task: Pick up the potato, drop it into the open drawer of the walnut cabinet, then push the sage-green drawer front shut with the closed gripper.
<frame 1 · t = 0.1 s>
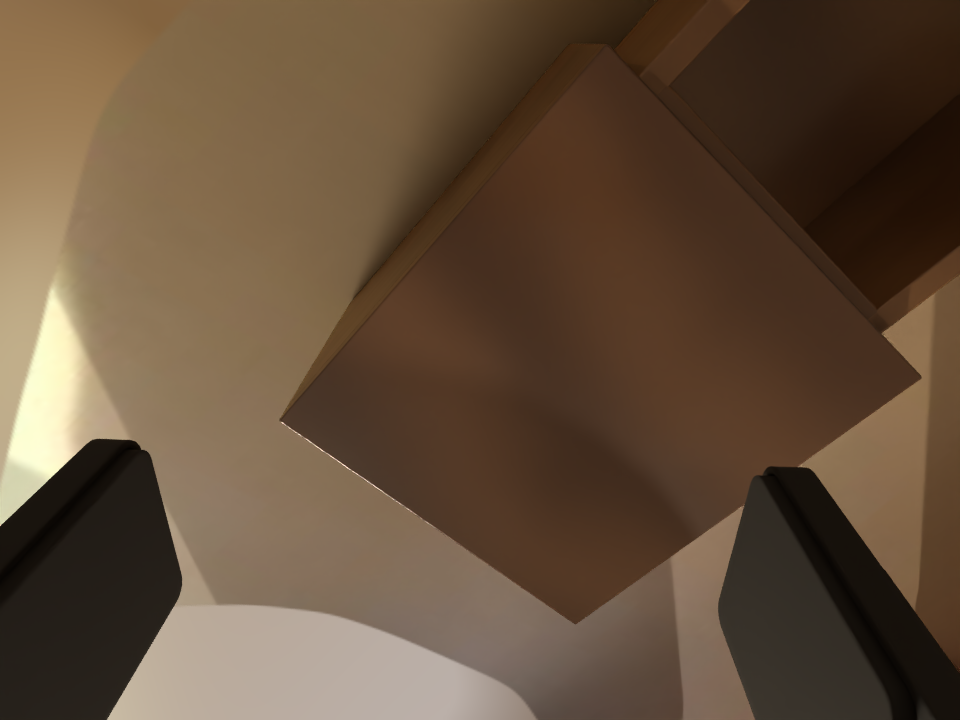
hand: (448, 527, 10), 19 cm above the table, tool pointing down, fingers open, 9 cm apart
cabinet: (562, 288, 29), on the table
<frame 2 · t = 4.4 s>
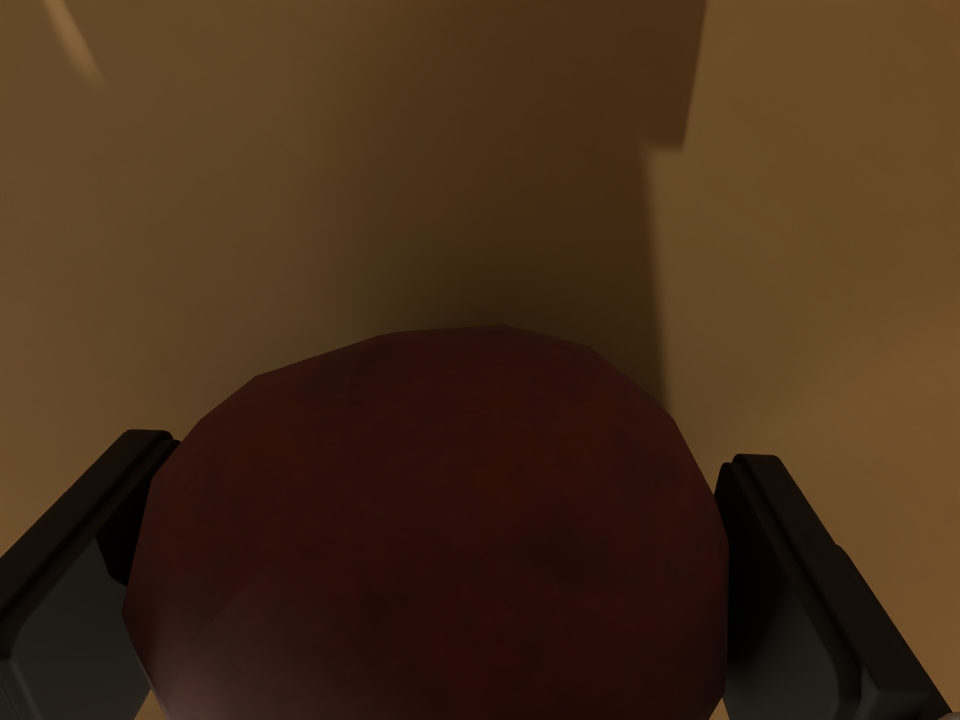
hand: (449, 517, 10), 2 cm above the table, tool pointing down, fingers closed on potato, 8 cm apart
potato: (466, 441, 12), on the table, touching gripper
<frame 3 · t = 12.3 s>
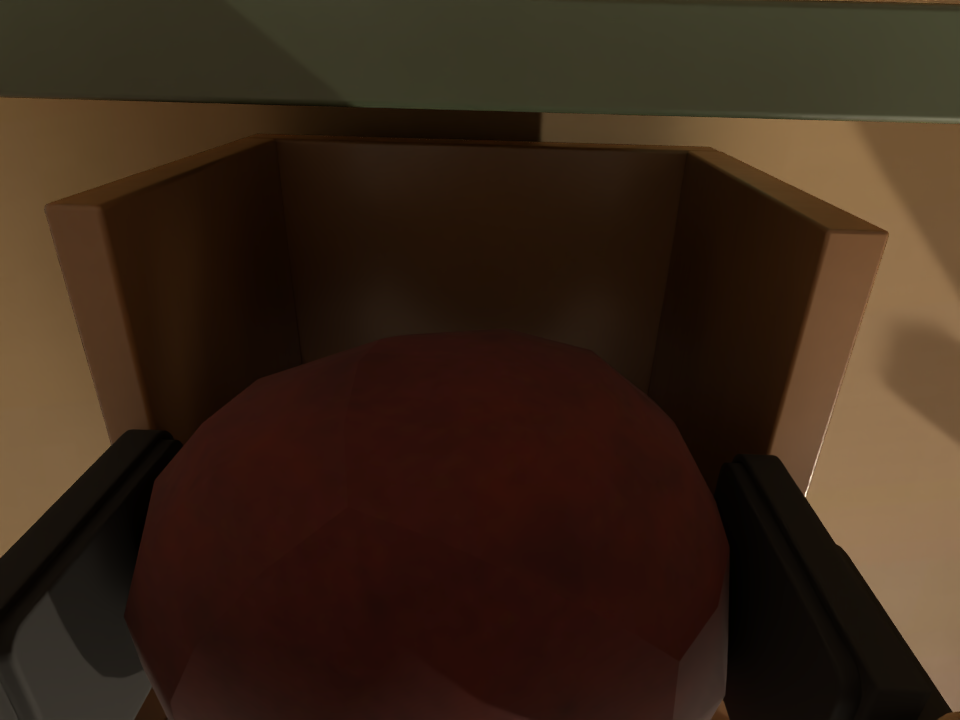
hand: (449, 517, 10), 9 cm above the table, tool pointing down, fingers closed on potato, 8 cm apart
drawer: (471, 274, 13), point 5 cm above the table, slide at 12.0 cm
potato: (467, 443, 12), point 7 cm above the table, touching gripper
cabinet: (471, 627, 24), on the table
when the fingers open (11 cm above the table, at t = 30.8 s): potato drops 7 cm, resting on drawer.
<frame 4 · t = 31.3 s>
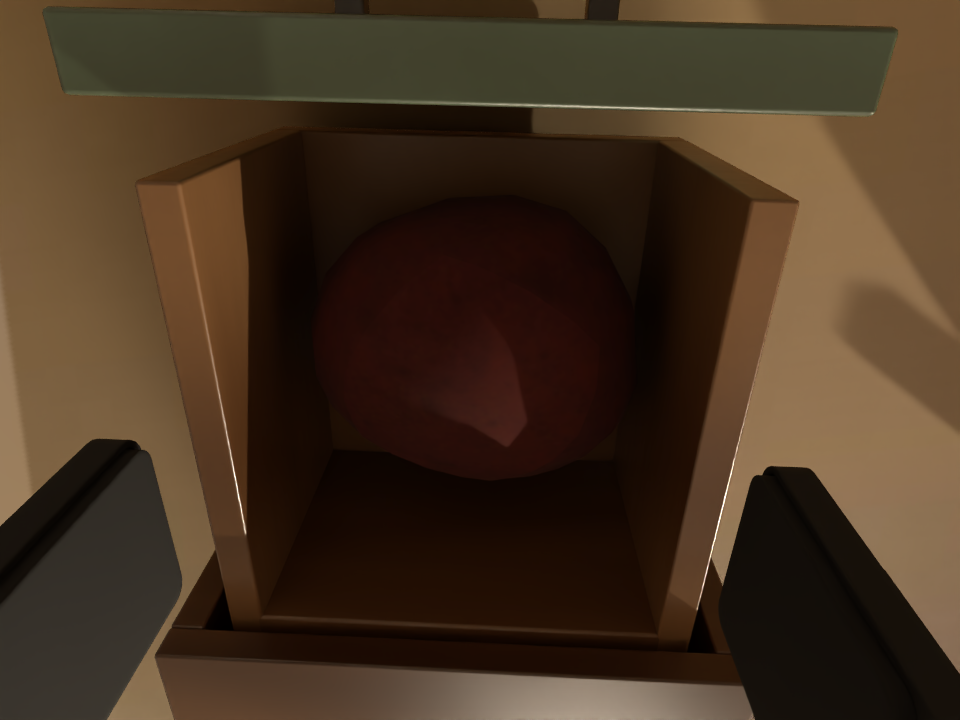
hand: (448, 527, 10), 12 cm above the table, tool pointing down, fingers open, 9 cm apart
drawer: (472, 245, 15), point 5 cm above the table, slide at 11.6 cm, touching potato
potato: (488, 294, 19), point 2 cm above the table, touching drawer
cabinet: (471, 572, 26), on the table
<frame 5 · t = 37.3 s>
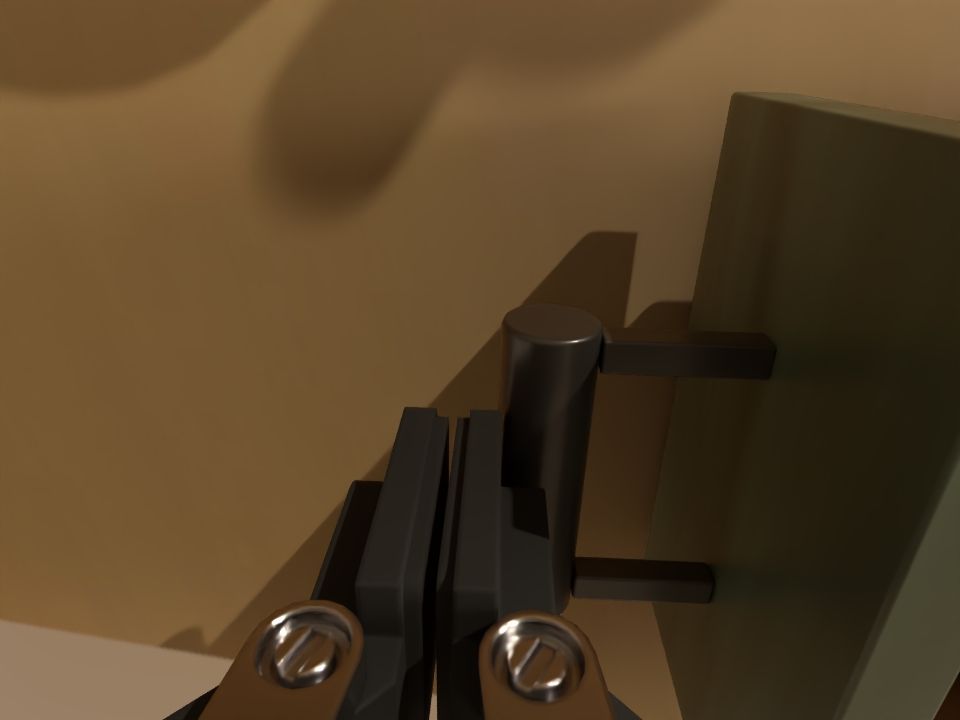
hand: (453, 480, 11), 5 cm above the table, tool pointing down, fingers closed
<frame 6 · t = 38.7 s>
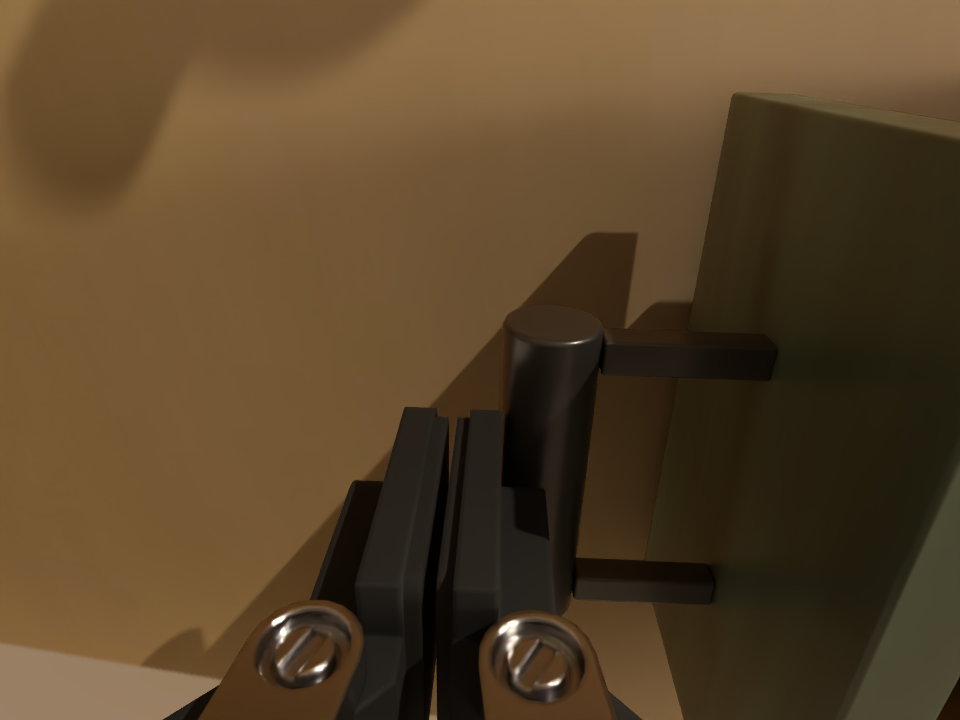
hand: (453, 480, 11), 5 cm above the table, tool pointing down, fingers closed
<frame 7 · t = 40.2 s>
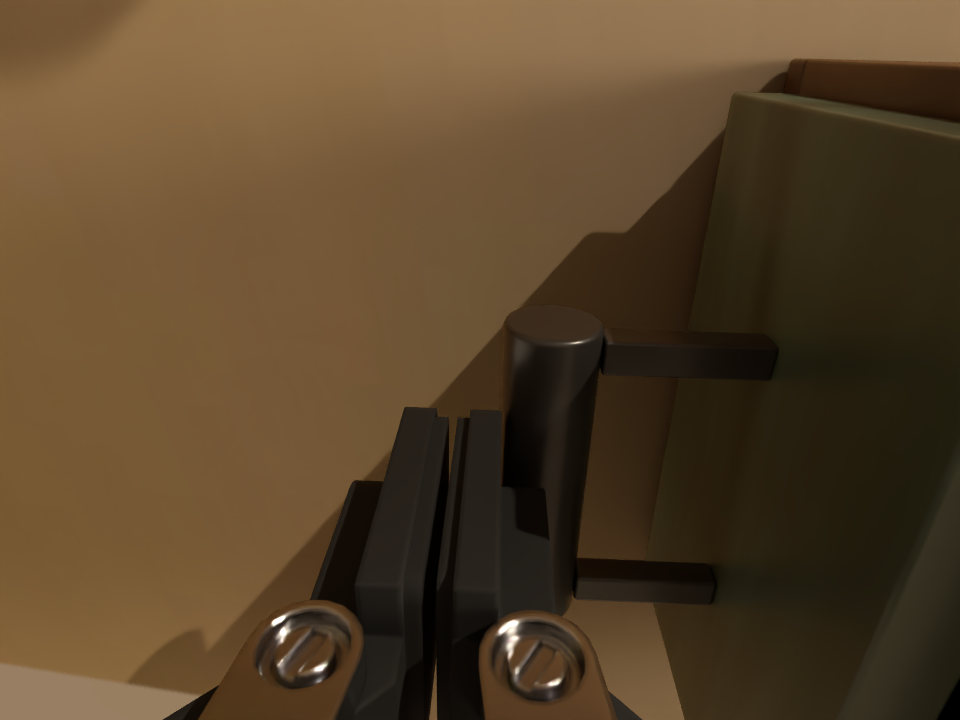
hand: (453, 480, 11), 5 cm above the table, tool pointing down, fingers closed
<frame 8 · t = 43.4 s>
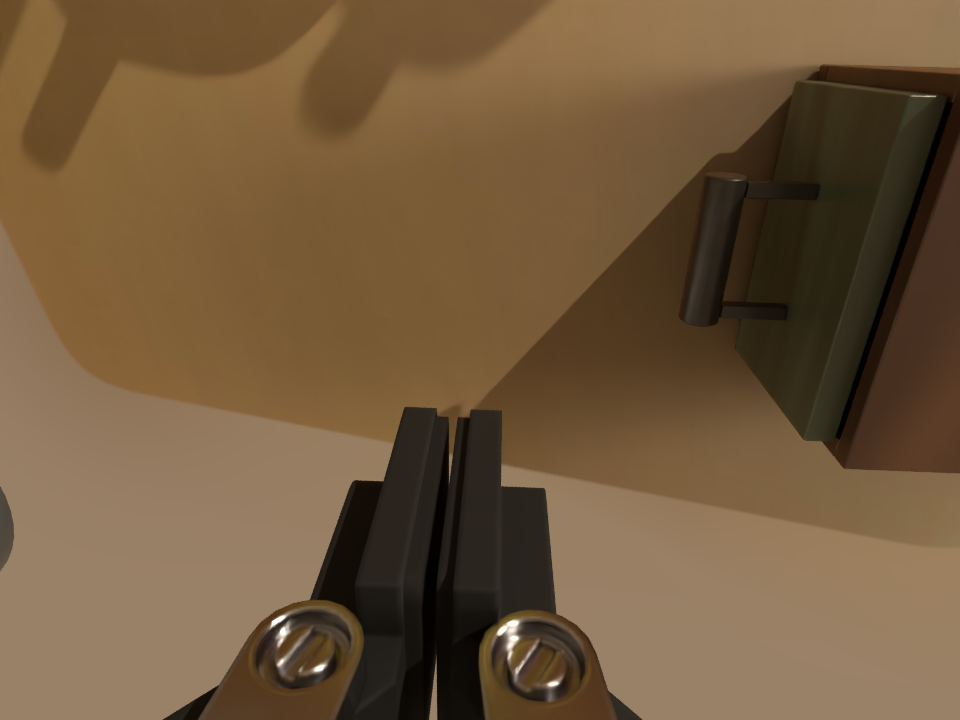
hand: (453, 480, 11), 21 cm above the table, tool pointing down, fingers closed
drawer: (915, 258, 25), point 5 cm above the table, slide at 0.1 cm, touching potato
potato: (930, 229, 28), point 2 cm above the table, touching drawer
cabinet: (938, 228, 30), on the table
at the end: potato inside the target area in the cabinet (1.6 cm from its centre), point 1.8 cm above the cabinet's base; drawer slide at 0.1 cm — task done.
